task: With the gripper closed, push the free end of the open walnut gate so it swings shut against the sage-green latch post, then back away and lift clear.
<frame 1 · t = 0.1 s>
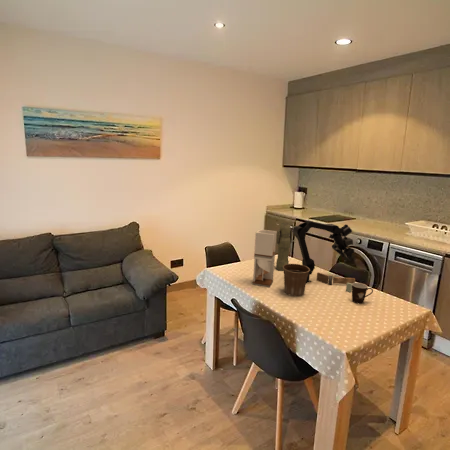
hand: (347, 258, 230), 15 cm above the table, tool tilted 30°, fingers open, 9 cm apart
grey dispenser tower: (262, 283, 218), on the table
latch stile: (348, 291, 211), on the table
gate: (343, 280, 221), point 3 cm above the table, hinge at 45.0°
coffee mug: (360, 302, 196), on the table
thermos: (282, 269, 249), on the table
hinge post: (329, 284, 222), on the table
plant pot: (294, 292, 206), on the table
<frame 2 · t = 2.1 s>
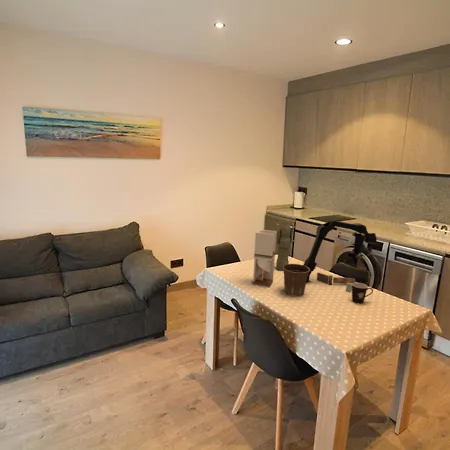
hand: (356, 265, 223), 13 cm above the table, tool pointing down, fingers closed
nothing on the table moved.
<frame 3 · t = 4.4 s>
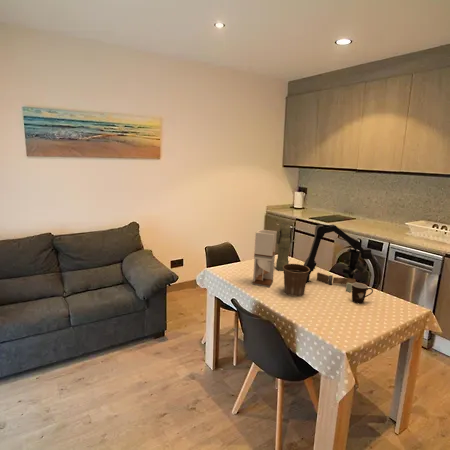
hand: (351, 280, 223), 3 cm above the table, tool pointing down, fingers closed
gate: (344, 281, 220), point 3 cm above the table, hinge at 43.1°
everything else where it was.
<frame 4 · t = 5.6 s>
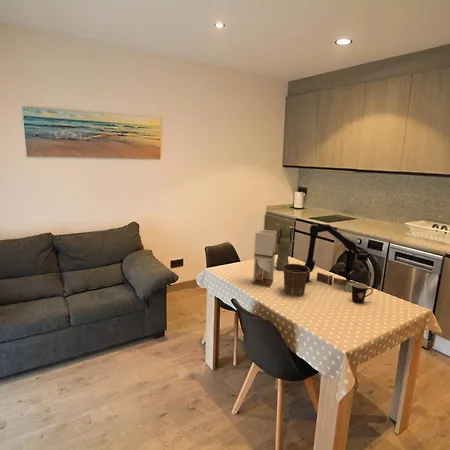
hand: (348, 282, 218), 3 cm above the table, tool pointing down, fingers closed
gate: (344, 282, 217), point 3 cm above the table, hinge at 20.4°, touching gripper
everything else where it was.
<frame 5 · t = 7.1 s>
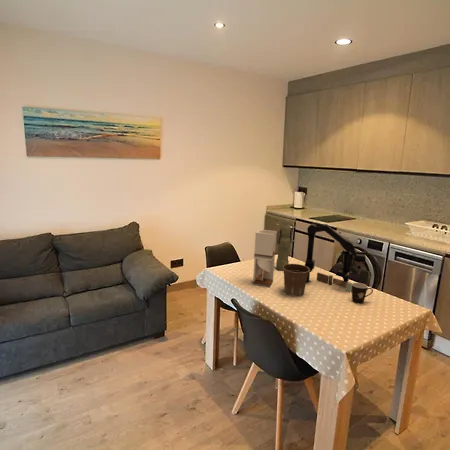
hand: (346, 283, 216), 3 cm above the table, tool pointing down, fingers closed
gate: (343, 284, 215), point 3 cm above the table, hinge at 3.4°, touching gripper
everything else where it was.
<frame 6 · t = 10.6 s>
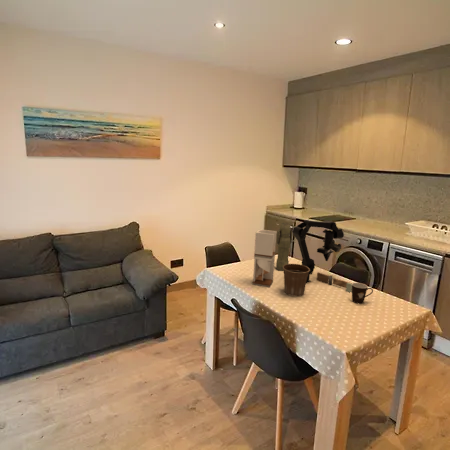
hand: (326, 260, 229), 13 cm above the table, tool pointing down, fingers closed
gate: (343, 284, 215), point 3 cm above the table, hinge at 3.4°
everything else where it was.
at the end: gate at +3° (first picture: +45°); coffee mug moved 0.2 cm from its start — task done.
